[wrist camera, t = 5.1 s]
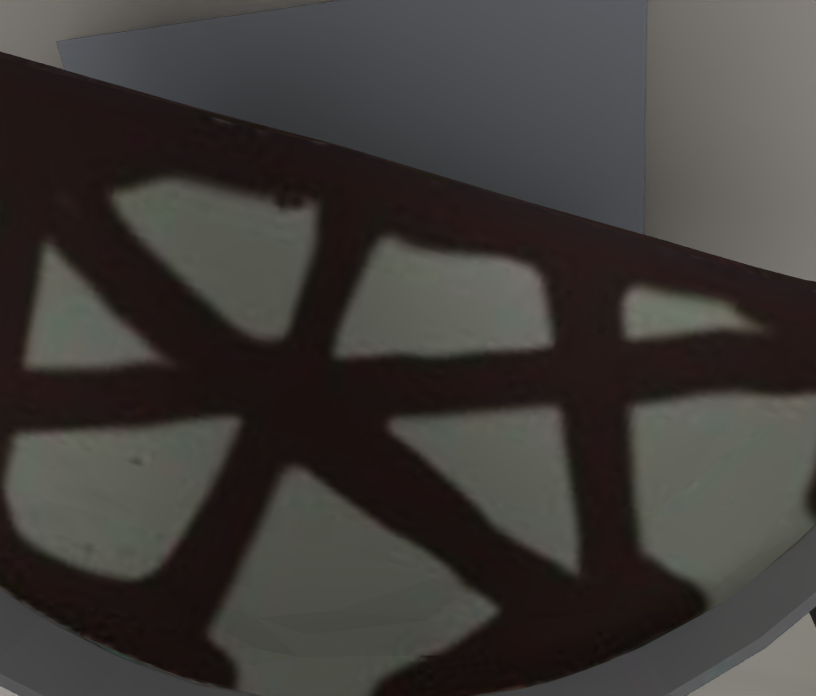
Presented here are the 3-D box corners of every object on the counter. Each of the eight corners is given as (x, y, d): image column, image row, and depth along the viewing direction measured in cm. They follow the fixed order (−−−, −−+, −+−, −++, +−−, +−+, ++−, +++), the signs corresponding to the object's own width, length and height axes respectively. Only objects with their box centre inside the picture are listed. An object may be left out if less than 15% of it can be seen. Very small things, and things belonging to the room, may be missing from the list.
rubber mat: (638, 267, 16) (643, 272, 16) (151, 323, 17) (145, 330, 17) (641, -42, 14) (647, -44, 13) (64, 41, 15) (56, 41, 14)
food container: (57, 401, 16) (-547, 634, 6) (115, 133, 15) (-466, -115, 5) (573, 540, 16) (828, 987, 6) (655, 285, 15) (1095, 327, 5)
